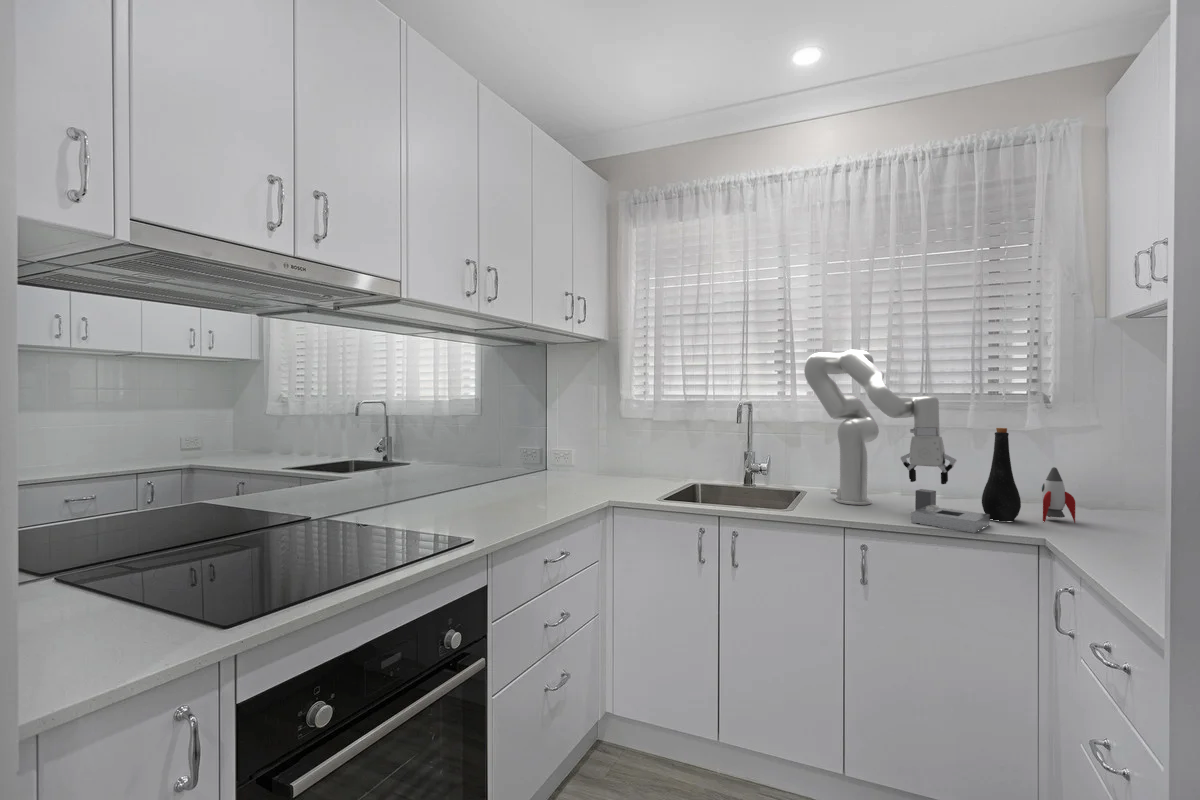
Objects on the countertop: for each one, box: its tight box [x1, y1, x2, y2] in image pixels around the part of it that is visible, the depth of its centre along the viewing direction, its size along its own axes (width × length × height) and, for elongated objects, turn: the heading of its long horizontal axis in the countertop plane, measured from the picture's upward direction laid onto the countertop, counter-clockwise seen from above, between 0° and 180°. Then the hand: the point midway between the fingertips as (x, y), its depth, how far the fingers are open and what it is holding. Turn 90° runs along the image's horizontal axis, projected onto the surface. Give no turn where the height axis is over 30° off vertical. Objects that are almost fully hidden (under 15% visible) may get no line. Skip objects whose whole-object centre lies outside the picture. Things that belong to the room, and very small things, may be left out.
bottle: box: [981, 427, 1022, 522], centre depth 192 cm, size 11×11×30 cm
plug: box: [914, 488, 937, 511], centre depth 202 cm, size 5×7×8 cm, turn 132°
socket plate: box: [910, 504, 991, 534], centre depth 186 cm, size 18×14×4 cm
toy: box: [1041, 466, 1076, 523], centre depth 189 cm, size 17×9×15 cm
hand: (928, 482), depth 201 cm, fingers open, 9 cm apart
